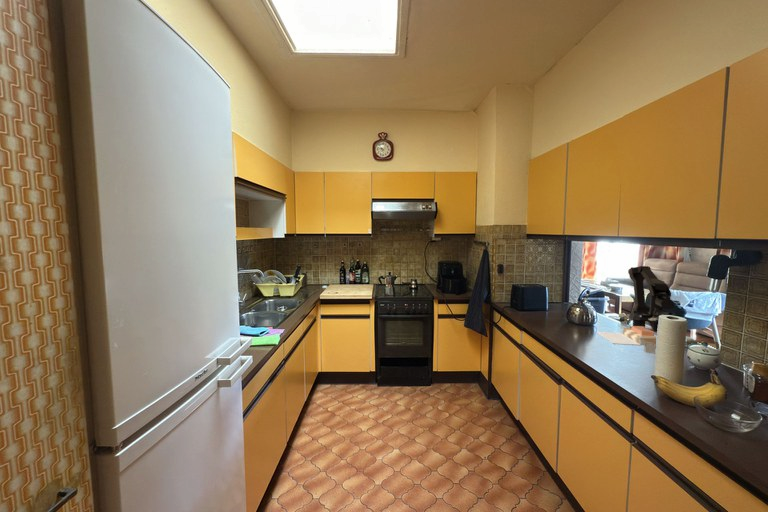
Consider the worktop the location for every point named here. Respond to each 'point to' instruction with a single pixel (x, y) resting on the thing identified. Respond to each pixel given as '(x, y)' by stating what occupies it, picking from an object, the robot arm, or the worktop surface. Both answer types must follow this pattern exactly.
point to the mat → (618, 338)
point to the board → (634, 336)
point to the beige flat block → (647, 346)
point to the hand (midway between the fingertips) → (654, 331)
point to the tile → (642, 331)
